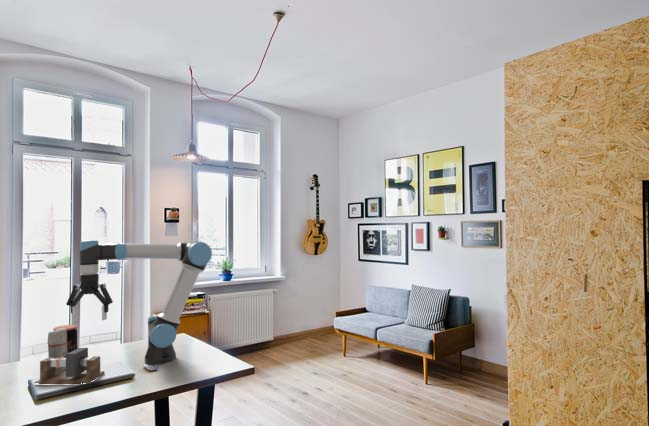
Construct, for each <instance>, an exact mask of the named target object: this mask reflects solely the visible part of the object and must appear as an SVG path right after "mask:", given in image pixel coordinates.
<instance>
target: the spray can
mask: <svg viewBox="0 0 649 426" xmlns="http://www.w3.org/2000/svg"><path fill="white" fill-rule="evenodd" d="M47 350H48V351H47V352H48V358H49V357H56V358H60V357H64V358H66V354H67V353H68V351H67V331H66V329H64V328H60V329H57V330H55V331H54V330H53V331H49V332H48V334H47ZM65 371H66V367H59V368H56V372H65Z"/></svg>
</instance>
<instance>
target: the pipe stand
mask: <svg viewBox="0 0 649 426" xmlns="http://www.w3.org/2000/svg"><path fill="white" fill-rule="evenodd" d="M93 357H94V358H93V359H91V358H90V359H88V360H86V371H84V372H82V373H81V374H79V375H77V376H75V377H66V371H59V372H56V367H49V360H50V359H51V358H56V357H49V356H48V357H47V358H44V359H42V360H40V361H39V379H38V380H36V381H34V383H39V384H81V383H82V384H83V383H86V384H89V383H90V382H91V381H93V380H95V379H96V378H98V377H100V376H101V377H103V376H104V375H105V370H103V371H102V370H101V356H100V355H95V356H94V355H93ZM103 374H104V375H103ZM102 375H103V376H102ZM101 377H100V378H101ZM98 379H99V378H98ZM96 380H97V379H96ZM96 380H95V381H96ZM93 382H94V381H93ZM90 384H91V383H90ZM90 384H89V385H90Z"/></svg>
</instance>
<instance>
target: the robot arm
mask: <svg viewBox="0 0 649 426" xmlns="http://www.w3.org/2000/svg"><path fill="white" fill-rule="evenodd" d="M212 256H213V251H212V248H211V247H210V245H208V244H207V243H205V242H203V241H192V242H179V243H178V244H168V243H167V244H166V243H165V244H160V243H158V244H157V243H121V242H119V243H118V242H112V243H103V244H102V243H99V240H97V239H94V240H91V239H90V240H82V241H80V242H79V273H80V276H79V282H80V284H78V283H77V284H74V285H72V291H71V293H70V294H69V297H68V299H67V301H66V303H65V304H66V306H70V314H72V322H75V321H78V320H79V318H78V317H79V316H78V315H79V309H78V307H79V306H78V305H77V304H78V303H79V302H80V301H81V299H82V298H83V297H84V296H85V295H93V296H95V297H96V298H97V300H99V302H101V304H102V306H101V321H105V320H107V319H108V317H107V315H108V312H109V305H111V304H113V303H114V301H113V299H112V297H111V295H110V293H109V291H108V289H107V285H106V284H107V283H101V284H100V283H99V281H100V280H99V279H100V276H99V275H100V274H99V262H100V261H108V260H110V261H113V260H118V261H120V260H125V259H150V260H151V259H153V260H156V259H157V260H177V261H178V262H181V265H182V269H181V271H180V273H179V275H178V277H177V279H176V282H175V284H174V286H173V289H172V290H171V293H170V295H169V297H168V300H167V301H166V304H165V306H164V308H163V311H162V312H161V313H158V314H157V315H151V316H148V318H147V326H148V327H147V338H148V340H147V350H146V352H145V355H144V363H145V364H147V365H162V364H167V363H171V362H173V361H175V360H176V358H177V354H176V350H175V348H174V344H173V343H174V342H175V340H176V338H177V331H178V330H179V328H180V324H181V321H180V320H181V319H180V318H181V314H182V313H183V310H184V308H185V306H186V304H187V301H188V300H189V297H190V295H191V293H192V290H193V288H194V285H196V281H197V279H198V277H199V274H201V273H203V272H204V271H205V269H206V266H207V264H208V263H209V262H210V261H211V259H212V258H213V257H212ZM99 289H100V290H99ZM79 290H80V292H79V293H78V291H79ZM77 294H78V295H77Z"/></svg>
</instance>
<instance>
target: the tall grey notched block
mask: <svg viewBox="0 0 649 426" xmlns="http://www.w3.org/2000/svg"><path fill="white" fill-rule="evenodd" d="M84 357H89V347H77V349H76V350H74V351H72V352H69V353H67V354H66V370H65V372H66V377H75V376H77V375H79V374H81V373H82V372H86V366H79V358H84Z"/></svg>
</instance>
